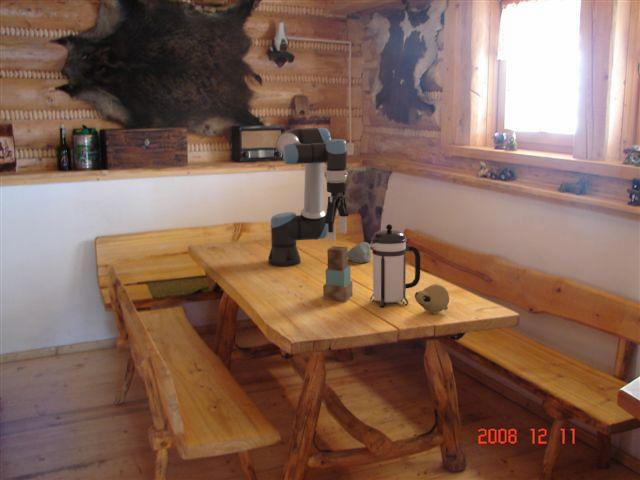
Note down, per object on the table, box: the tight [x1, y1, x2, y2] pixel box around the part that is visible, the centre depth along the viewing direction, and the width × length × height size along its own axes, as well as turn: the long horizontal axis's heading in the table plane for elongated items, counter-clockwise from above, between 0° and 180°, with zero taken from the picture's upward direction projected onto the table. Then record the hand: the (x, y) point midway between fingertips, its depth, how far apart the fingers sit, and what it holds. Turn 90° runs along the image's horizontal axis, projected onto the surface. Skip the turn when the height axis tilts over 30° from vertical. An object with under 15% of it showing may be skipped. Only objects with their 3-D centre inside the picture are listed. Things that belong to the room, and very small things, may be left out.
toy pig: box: [414, 283, 450, 316], centre depth 246 cm, size 10×12×11 cm
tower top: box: [325, 265, 352, 286], centre depth 266 cm, size 8×8×6 cm
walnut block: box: [326, 245, 349, 271], centre depth 264 cm, size 6×6×8 cm
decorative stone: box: [348, 241, 372, 264], centre depth 324 cm, size 13×11×10 cm
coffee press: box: [369, 223, 421, 309], centre depth 258 cm, size 17×16×30 cm
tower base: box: [322, 280, 354, 303], centre depth 267 cm, size 9×9×6 cm
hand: (337, 236), depth 262 cm, fingers open, 13 cm apart
